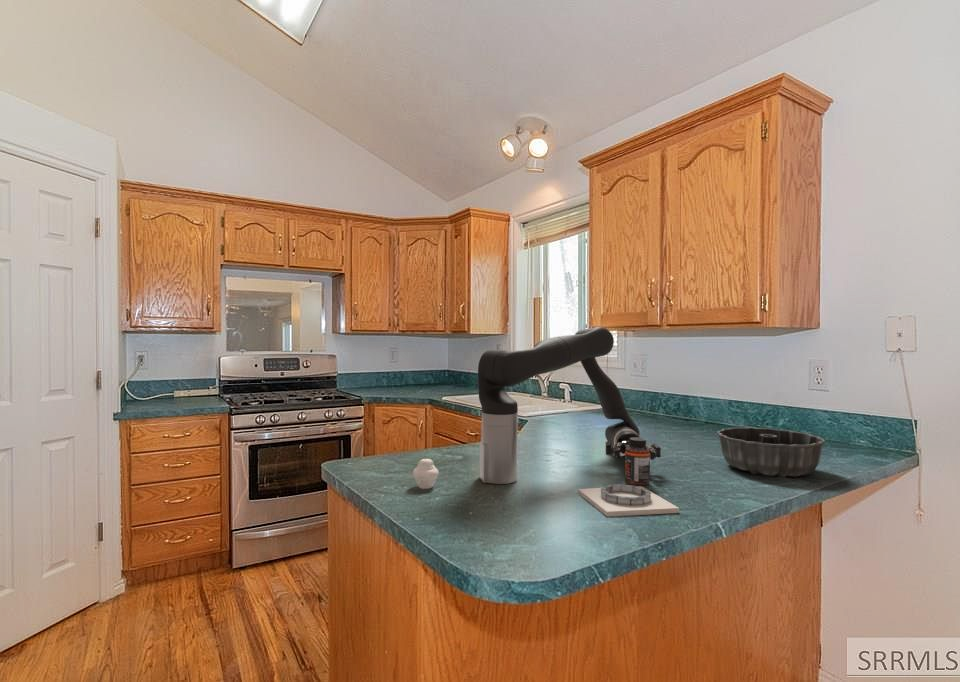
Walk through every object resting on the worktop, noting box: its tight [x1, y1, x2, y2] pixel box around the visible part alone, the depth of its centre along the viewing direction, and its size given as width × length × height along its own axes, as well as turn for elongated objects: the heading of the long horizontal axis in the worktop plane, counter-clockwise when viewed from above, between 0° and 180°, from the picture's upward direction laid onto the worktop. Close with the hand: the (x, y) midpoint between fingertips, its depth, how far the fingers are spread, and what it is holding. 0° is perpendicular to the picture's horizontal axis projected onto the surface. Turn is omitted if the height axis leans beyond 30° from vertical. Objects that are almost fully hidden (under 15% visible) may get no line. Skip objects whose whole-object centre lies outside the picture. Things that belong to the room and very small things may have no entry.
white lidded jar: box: [412, 458, 440, 490], centre depth 121 cm, size 6×6×7 cm
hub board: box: [577, 486, 680, 518], centre depth 111 cm, size 16×16×1 cm
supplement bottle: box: [624, 436, 651, 487], centre depth 127 cm, size 6×6×11 cm
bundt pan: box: [716, 427, 826, 478], centre depth 142 cm, size 26×26×10 cm
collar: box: [601, 483, 652, 506], centre depth 111 cm, size 10×10×2 cm
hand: (635, 455), depth 130 cm, fingers open, 8 cm apart
